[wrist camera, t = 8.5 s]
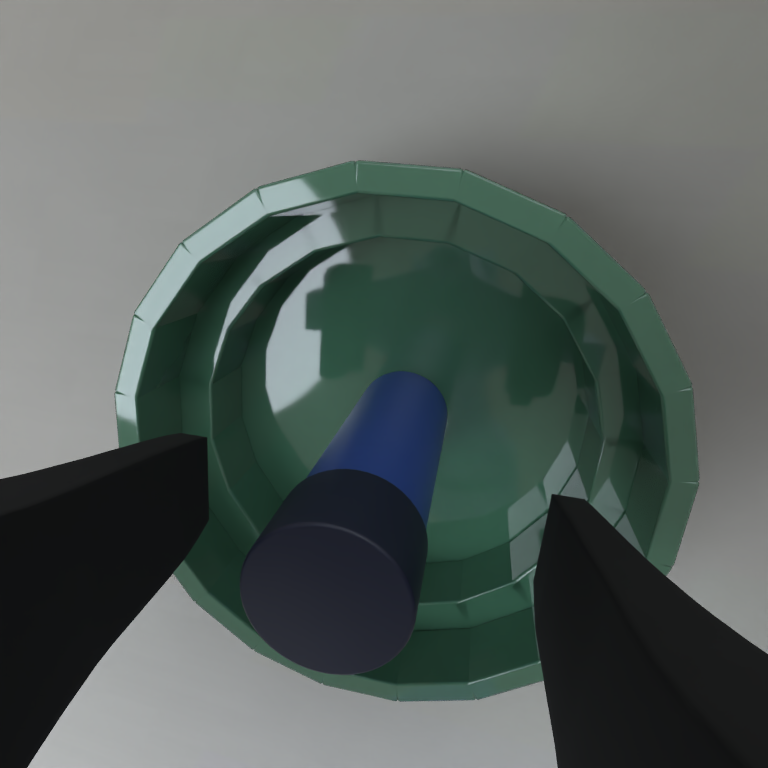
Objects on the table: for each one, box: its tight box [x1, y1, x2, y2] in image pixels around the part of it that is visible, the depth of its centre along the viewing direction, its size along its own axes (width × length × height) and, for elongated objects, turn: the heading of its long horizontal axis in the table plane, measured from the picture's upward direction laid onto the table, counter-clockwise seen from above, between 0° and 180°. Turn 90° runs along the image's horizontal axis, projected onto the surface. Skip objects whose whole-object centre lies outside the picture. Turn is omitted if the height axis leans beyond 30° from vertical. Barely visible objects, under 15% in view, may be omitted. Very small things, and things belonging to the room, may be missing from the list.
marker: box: [240, 371, 447, 675], centre depth 12 cm, size 3×3×8 cm
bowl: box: [115, 160, 700, 702], centre depth 14 cm, size 13×13×4 cm
